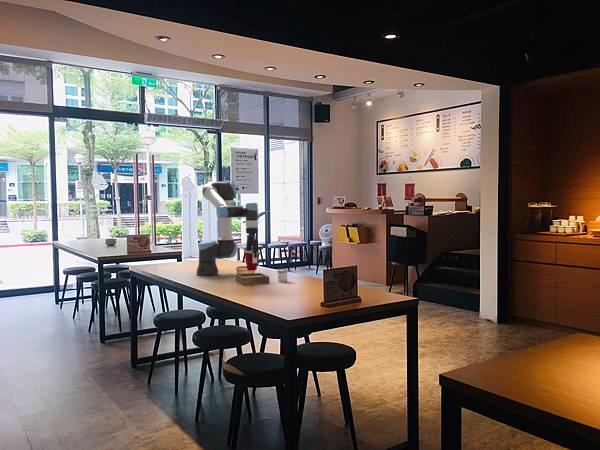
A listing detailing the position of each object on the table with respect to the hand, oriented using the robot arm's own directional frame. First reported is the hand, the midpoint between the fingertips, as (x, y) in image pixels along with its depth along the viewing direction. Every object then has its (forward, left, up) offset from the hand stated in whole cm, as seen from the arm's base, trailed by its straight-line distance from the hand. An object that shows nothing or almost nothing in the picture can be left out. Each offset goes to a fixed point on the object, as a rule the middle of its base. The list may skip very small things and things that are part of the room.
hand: (252, 262), depth 322 cm
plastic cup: (0, 0, -5) cm, 5 cm away
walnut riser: (0, 0, -13) cm, 13 cm away
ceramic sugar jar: (+4, +19, -13) cm, 23 cm away
